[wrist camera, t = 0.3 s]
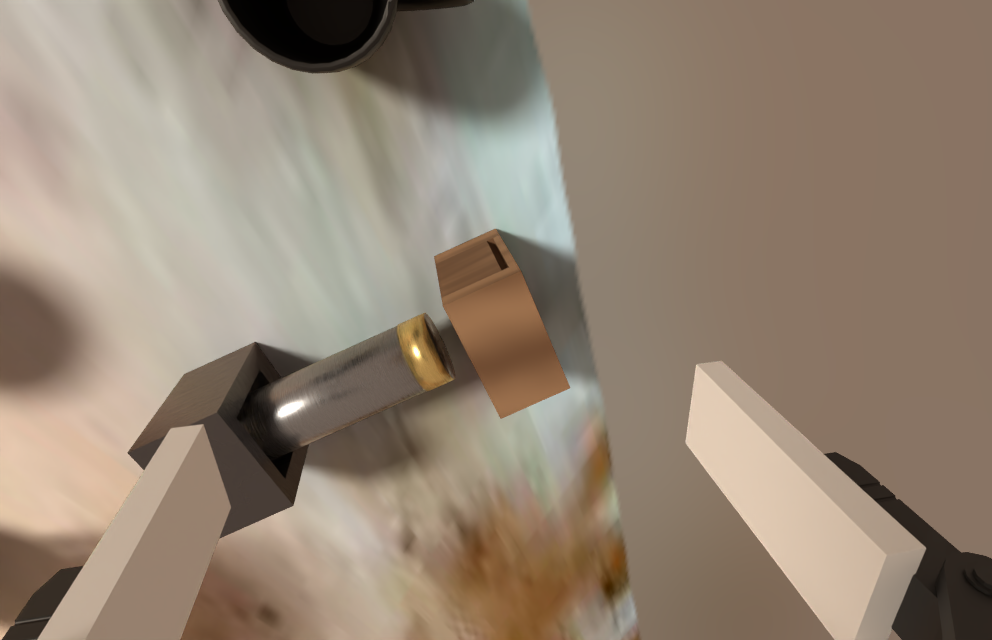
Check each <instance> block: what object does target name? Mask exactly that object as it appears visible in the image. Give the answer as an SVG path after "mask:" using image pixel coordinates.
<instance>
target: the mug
mask: <svg viewBox="0 0 992 640" xmlns="http://www.w3.org/2000/svg"><path fill="white" fill-rule="evenodd" d="M218 2H219V4H220V6H221V8H222V11H223V12H224V14H225V15H226V17H227V18H228V20H229V21H230V23H231V24H232V26H233V27H234V28H235V30H236V31H237V32H238V33H239V34H240V35H241V36H242V37H243V38H244V39H245V40H246V41H247V42H248V43H249V44H250V45H251V46H252V47H253V48H254V49H255V50H256V51H258V52H259V53H261V54H262V55H264V56H265V57H267V58H268V59H270V60H271V61H273V62H275V63H277V64H280V65H282V66H285V67H287V68H290V69H292V70H297V71H302V72H308V73H332V72H340V71H343V70H347V69H350V68H353V67H356V66H357V65H359V64H360V63H362V62H364V61H365V60H367V59H368V58H370V57H371V56H372V55H373V54H374V53H375V52H376V51H377V50H378V49H379V47H380V46H381V45H382V44H383V42H384V41H385V39H386V37H387V35H388V33H389V32H390V30H391V28H392V25H393V21H394V18H395V15H396V11H416V10H430V9H441V8H451V7H459V6H465V5H468V4H470V3H472V2H474V0H218Z"/></svg>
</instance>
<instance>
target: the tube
mask: <svg viewBox="0 0 992 640" xmlns="http://www.w3.org/2000/svg"><path fill="white" fill-rule="evenodd" d="M454 379H455V372H454V368H453V365H452V362H451V359H450V356H449V354H448V351H447V349H446V347H445V344H444V342H443V340H442V338H441V336H440V334H439V332H438V330H437V328H436V326H435V325H434V323H433V321H432V320H431V318H430V317H429V316H428V314H426V313H423V314H421V315H418V316H416V317H414V318H412V319H409V320H407V321H405V322H403V323H401V324H398V326H396V327H394V328H391V329H389V330H387V331H385V332H382V333H380V334H378V335H376V336H374V337H371V338H369V339H367V340H365V341H362V342H360V343H358V344H356V345H354V346H351V347H349V348H347V349H345V350H343V351H340V352H338V353H336V354H334V355H331V356H329V357H327V358H325V359H323V360H320V361H318V362H316V363H314V364H312V365H309V366H307V367H305V368H303V369H300V370H298V371H296V372H294V373H292V374H289V375H287V376H285V377H283V378H281V379H278V380H276V381H274V382H272V383H269V384H267V385H265V386H263V387H261V388H258V389H256V390H254V391H252V392H250V393H248V395H247V397H246V399H245V401H244V403H243V405H242V407H241V409H240V411H239V414H238V416H237V420H238V421H239V422H240V423H241V425H242V426H243V427H244V428H245V430H246V431H247V432H248V433H249V435H250V436H251V437H252V438H253V440H254V441H255V442H256V443H257V445H258V446H259V447H260V448H261V449H262V451H263V452H264V453H265V454H266V456H267V457H268V458H269V459H270V461H271V460H274V459H276V458H278V457H280V456H283V455H285V454H287V453H289V452H292V451H294V450H296V449H298V448H301V447H303V446H305V445H307V444H310V443H312V442H314V441H316V440H318V439H321V438H323V437H325V436H327V435H330V434H332V433H334V432H336V431H339V430H341V429H343V428H345V427H348V426H350V425H352V424H354V423H357V422H359V421H361V420H363V419H365V418H368V417H370V416H372V415H374V414H377V413H379V412H381V411H383V410H386V409H388V408H390V407H392V406H395V405H397V404H399V403H401V402H404V401H406V400H408V399H410V398H412V397H415V396H417V395H419V394H421V393H424V392H426V391H430V390H432V389H434V388H437V387H439V386H441V385H443V384H446V383H448V382H450V381H452V380H454Z"/></svg>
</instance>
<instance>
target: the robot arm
mask: <svg viewBox="0 0 992 640" xmlns="http://www.w3.org/2000/svg"><path fill="white" fill-rule="evenodd" d="M686 444H687V446H688V447H689V448H690V449H691V451H692V452H693V454H694V455H695V456H696V458H697V459H698V460H699V461H700V463H701V464H702V465H703V467H704V468H705V469H706V470H707V472H708V473H709V475H710V476H711V477H712V478H713V480H714V481H715V482H716V484H717V485H718V487H719V488H720V489H721V490H722V492H723V493H724V494H725V496H726V497H727V498H728V500H729V501H730V502H731V503H732V505H733V506H734V508H735V509H736V510H737V512H738V513H739V514H740V516H741V517H742V518H743V519H744V521H745V522H746V523H747V524H748V526H749V527H750V529H751V530H752V531H753V533H754V534H755V535H756V536H757V538H758V539H759V541H760V542H761V543H762V544H763V546H764V547H765V548H766V550H767V551H768V552H769V554H770V555H771V556H772V558H773V559H774V560H775V562H776V563H777V564H778V565H779V567H780V568H781V569H782V571H783V572H784V573H785V575H786V576H787V577H788V579H789V580H790V581H791V583H792V584H793V585H794V587H795V588H796V589H797V590H798V592H799V593H800V595H801V596H802V597H803V599H804V600H805V601H806V602H807V604H808V605H809V606H810V608H811V609H812V610H813V612H814V613H815V614H816V616H817V617H818V618H819V620H820V621H821V622H822V624H823V625H824V626H825V627H826V629H827V630H828V631H829V633H830V634H831V635H832V637H833V638H834V639H835V640H888V638H889V636H890V633H891V631H892V629H893V630H894V631H895V632H896V633H897V634H898V636H899V637H900V638H901V639H902V640H992V559H991V558H989V557H986V556H983V555H979V554H974V553H969V552H963V553H961V552H960V551H959V550H957V549H956V548H955V547H954V546H953V545H951V544H950V543H949V542H948V541H947V540H946V539H945V538H944V537H942V536H941V535H940V534H939V533H938V532H937V531H935V530H934V529H933V528H932V527H931V526H930V525H928V524H927V523H926V522H925V521H924V520H923V519H922V518H920V517H919V516H918V515H917V514H916V513H915V512H913V511H912V510H911V509H910V508H909V507H908V506H907V505H905V504H904V503H903V502H902V501H901V500H899V499H898V500H897V499H896V498H895V495H894V494H893V493H892V492H890V491H889V490H888V489H887V488H886V487H885V486H883V485H882V486H881V485H880V482H879V481H878V480H877V479H875V478H874V477H873V476H872V475H871V474H870V473H868V472H867V471H866V470H865V469H864V468H863V467H861V466H860V465H859V464H857V463H855V462H853V461H851V460H849V459H847V458H846V457H844V456H842V455H840V454H838V453H836V452H834V453H827V454H823V453H822V452H821V451H820V450H819V449H817V448H816V447H815V446H814V445H813V444H812V443H811V442H810V441H809V440H807V439H806V438H805V437H804V436H803V435H802V434H801V433H800V432H799V431H798V430H797V429H795V427H793V426H792V425H791V424H790V423H789V422H788V421H787V420H786V419H785V418H784V417H782V416H781V415H780V414H779V413H778V412H777V411H776V410H775V409H774V408H773V407H772V406H770V405H769V404H768V403H767V402H766V401H765V400H764V399H763V398H762V397H760V396H759V395H758V394H757V393H756V392H755V391H754V390H753V389H752V388H751V387H750V386H749V385H747V384H746V383H745V382H744V381H743V380H742V379H741V378H740V377H739V376H738V375H737V374H735V373H734V372H733V371H732V370H731V369H730V368H729V367H728V366H727V365H726V364H725V363H723V362H722V361H718V362H710V363H702V364H696V370H695V378H694V385H693V392H692V399H691V407H690V414H689V421H688V428H687V436H686ZM230 509H231V505H230V502H229V499H228V496H227V493H226V490H225V487H224V484H223V481H222V478H221V475H220V472H219V469H218V466H217V463H216V460H215V457H214V454H213V451H212V448H211V445H210V442H209V439H208V436H207V433H206V430H205V427H204V424H201V425H193V426H185V427H176V428H171V429H170V430H169V432H168V434H167V435H166V437H165V438H164V440H163V441H162V443H161V445H160V446H159V448H158V449H157V451H156V452H155V454H154V456H153V457H152V459H151V460H150V462H149V464H148V465H147V467H146V468H145V470H144V471H143V473H142V475H141V476H140V478H139V479H138V481H137V482H136V484H135V486H134V487H133V489H132V490H131V492H130V494H129V495H128V497H127V498H126V500H125V501H124V503H123V505H122V506H121V508H120V509H119V511H118V513H117V514H116V516H115V517H114V519H113V520H112V522H111V524H110V525H109V527H108V528H107V530H106V531H105V533H104V535H103V536H102V538H101V539H100V541H99V543H98V544H97V546H96V547H95V549H94V550H93V552H92V554H91V555H90V557H89V558H88V560H87V562H86V563H85V565H84V566H81V567H74V568H67V569H61V570H60V571H59V572H57V573H56V574H55V575H54V576H53V577H52V578H51V579H50V580H49V581H48V582H46V583H45V584H44V585H43V586H42V587H41V588H40V589H39V590H38V591H36V592H35V593H34V594H33V596H32V597H31V598H30V600H29V601H28V603H27V604H26V606H25V607H24V608H23V610H22V611H21V613H20V614H19V616H18V617H17V619H16V620H15V625H14V626H11V627H10V629H9V630H8V632H7V633H6V634H5V636H4V637H3V639H2V640H180V639H181V637H182V634H183V632H184V629H185V626H186V624H187V621H188V618H189V616H190V613H191V611H192V608H193V605H194V603H195V600H196V598H197V595H198V592H199V590H200V587H201V584H202V582H203V579H204V577H205V574H206V571H207V569H208V566H209V564H210V561H211V558H212V556H213V553H214V551H215V548H216V545H217V543H218V540H219V537H220V535H221V532H222V530H223V527H224V524H225V522H226V519H227V517H228V514H229V511H230Z"/></svg>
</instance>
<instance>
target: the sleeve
mask: <svg viewBox="0 0 992 640" xmlns="http://www.w3.org/2000/svg"><path fill="white" fill-rule="evenodd" d="M278 379H281V377H280V376H279V374H278V373H277V371H276V370H275V369H274V367H273V366H272V364H271V363H270V362H269V360H268V359H267V358H266V356H265V355H264V353H263V352H262V351H261V349H260V348H259V346H258V345H257V344H256V342H254V343H252V344H250V345H248V346H245V347H243V348H241V349H239V350H237V351H234V352H232V353H230V354H228V355H226V356H223V357H221V358H219V359H217V360H215V361H212V362H210V363H208V364H206V365H204V366H201V367H199V368H197V369H195V370H193V371H190V372H188V373H186V374H184V375H183V377H182V378H181V379H180V381H179V382H178V383H177V385H176V386H175V388H174V389H173V390H172V392H171V393H170V395H169V396H168V397H167V399H166V400H165V401H164V403H163V404H162V406H161V407H160V408H159V410H158V411H157V413H156V414H155V415H154V417H153V418H152V419H151V421H150V422H149V424H148V425H147V426H146V428H145V429H144V431H143V432H142V433H141V435H140V436H139V437H138V439H137V440H136V442H135V443H134V444H133V446H132V447H131V449H130V450H129V451H128V454H129V455H130V456H131V457H132V458H133V459H134V460H135V461H136V462H137V463H138V464H139V465H140V467H141V468H142V469H143V470H145V468H146V467H147V465H148V464H149V462H150V460H151V459H152V457H153V456H154V454H155V452H156V451H157V449H158V448H159V446H160V445H161V443H162V441H163V440H164V438H165V437H166V435H167V434H168V432H169V430H170V429H171V428H176V427H185V426H193V425H201V424H204V427H205V430H206V433H207V436H208V439H209V442H210V445H211V448H212V451H213V454H214V457H215V460H216V463H217V466H218V469H219V472H220V475H221V478H222V481H223V484H224V487H225V490H226V493H227V496H228V499H229V502H230V505H231V509H230V511H229V514H228V517H227V519H226V522H225V524H224V527H223V530H222V532H221V535H220V537H219V538H222V537H224V536H226V535H228V534H231V533H233V532H235V531H237V530H240V529H242V528H244V527H246V526H249V525H251V524H253V523H255V522H258V521H260V520H262V519H264V518H267V517H269V516H271V515H274V514H276V513H278V512H280V511H283V510H285V509H287V508H289V507H292V506H293V505H294V501H295V497H296V493H297V489H298V485H299V481H300V477H301V473H302V469H303V465H304V462H305V458H306V454H307V450H308V446H309V444H307V445H305V446H303V447H301V448H298V449H296V450H294V451H292V452H289V453H287V454H285V455H283V456H280V457H278V458H276V459H274V460H271V461H270V459H269V458H268V457H267V456H266V454H265V453H264V452H263V451H262V449H261V448H260V447H259V446H258V445H257V443H256V442H255V441H254V440H253V438H252V437H251V436H250V435H249V433H248V432H247V431H246V430H245V428H244V427H243V426H242V425H241V423H240V422H239V421H238V420H237V416H238V414H239V411H240V409H241V407H242V405H243V403H244V401H245V399H246V397H247V395H248V393H250V392H252V391H254V390H256V389H258V388H261V387H263V386H265V385H267V384H269V383H272V382H274V381H276V380H278Z"/></svg>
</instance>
